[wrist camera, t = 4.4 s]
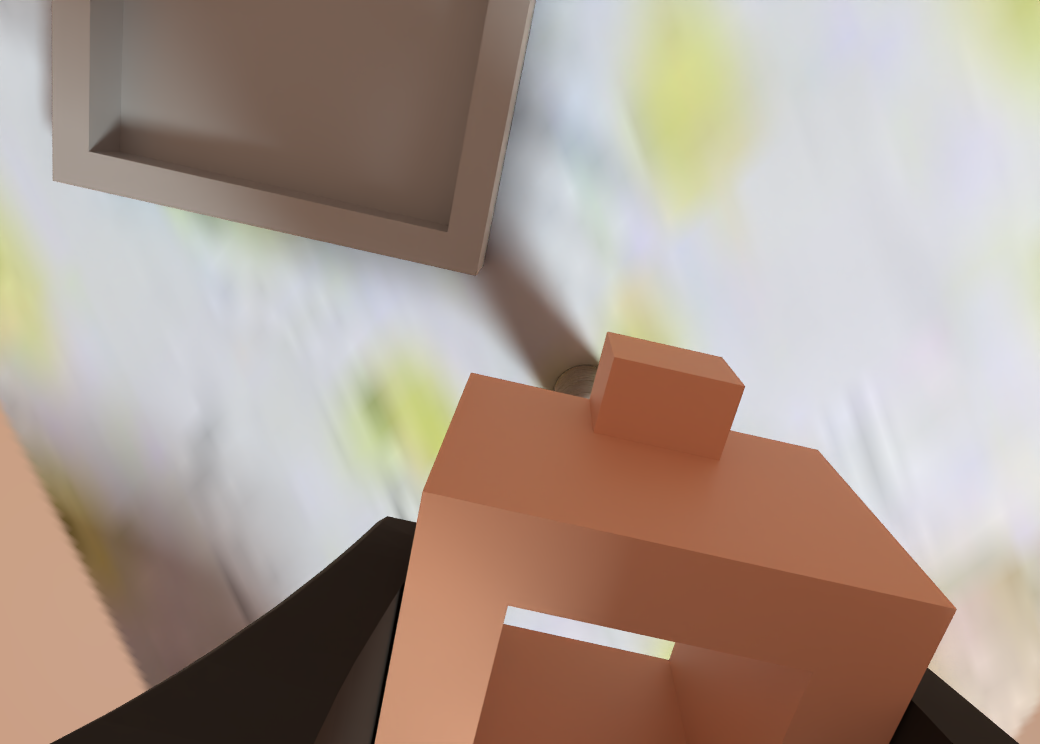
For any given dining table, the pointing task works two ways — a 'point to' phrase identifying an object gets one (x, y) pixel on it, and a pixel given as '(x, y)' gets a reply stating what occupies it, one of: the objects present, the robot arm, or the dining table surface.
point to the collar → (649, 574)
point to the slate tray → (297, 114)
